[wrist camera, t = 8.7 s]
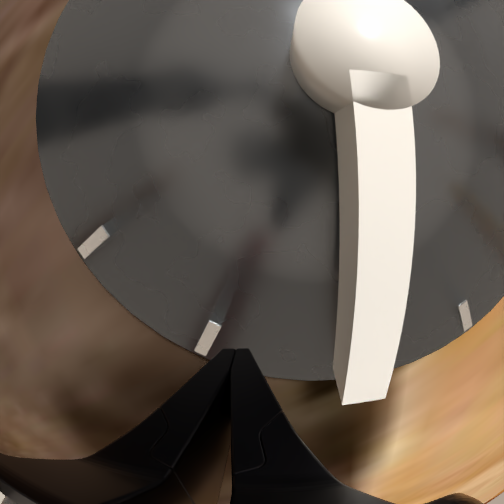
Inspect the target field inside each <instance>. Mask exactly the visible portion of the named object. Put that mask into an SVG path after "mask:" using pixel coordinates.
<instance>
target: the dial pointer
mask: <svg viewBox="0 0 504 504" xmlns="http://www.w3.org/2000/svg"><path fill="white" fill-rule="evenodd" d="M290 63H291V67H292V70H293V73H294V76H295V78H296V80H297V82H298V83H299V85H300V86H301V88H302V89H303V90H304V91H305V93H306V94H307V95H308V96H309V97H310V98H311V99H312V100H313V101H315V102H316V103H317V104H319V105H320V106H321V107H323V108H325V109H326V110H328V111H330V112H332V113H334V114H335V126H336V139H337V155H338V175H339V213H340V248H339V286H338V306H337V322H336V336H335V348H334V359H333V371H334V375H335V379H336V383H337V387H338V391H339V395H340V399H341V403H342V405H347V404H354V403H361V402H367V401H373V400H379V399H385V397H386V394H387V390H388V387H389V383H390V379H391V376H392V372H393V368H394V364H395V360H396V355H397V351H398V346H399V342H400V337H401V332H402V327H403V321H404V316H405V310H406V304H407V297H408V290H409V283H410V275H411V266H412V256H413V245H414V231H415V210H416V158H415V138H414V124H413V113H412V106H413V105H415V104H417V103H419V102H420V101H422V100H423V99H425V98H426V97H427V96H428V95H429V94H430V92H431V91H432V90H433V88H434V86H435V84H436V82H437V79H438V76H439V69H440V57H439V51H438V47H437V44H436V41H435V39H434V36H433V34H432V32H431V30H430V28H429V27H428V25H427V24H426V22H425V21H424V19H423V18H422V17H421V16H420V15H419V13H418V12H417V11H416V10H415V9H414V8H413V7H412V6H411V5H409V4H408V3H407V2H406V1H404V0H303V1H302V3H301V4H300V6H299V8H298V11H297V14H296V18H295V24H294V29H293V34H292V40H291V45H290Z"/></svg>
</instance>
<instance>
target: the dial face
mask: <svg viewBox="0 0 504 504" xmlns="http://www.w3.org/2000/svg"><path fill="white" fill-rule="evenodd" d="M302 1H303V0H69V1H68V3H67V5H66V7H65V8H64V10H63V12H62V14H61V16H60V17H59V19H58V22H57V24H56V26H55V29H54V31H53V34H52V36H51V39H50V41H49V44H48V47H47V50H46V53H45V57H44V61H43V65H42V70H41V74H40V79H39V85H38V95H37V109H36V126H37V140H38V151H39V157H40V161H41V166H42V170H43V175H44V179H45V183H46V187H47V190H48V193H49V195H50V198H51V201H52V203H53V206H54V208H55V211H56V213H57V216H58V218H59V221H60V223H61V225H62V227H63V228H64V230H65V232H66V234H67V235H68V237H69V239H70V241H71V242H72V244H73V246H74V248H75V249H76V251H77V253H78V254H79V256H80V257H81V259H82V260H83V261H84V262H85V264H86V265H87V266H88V268H89V269H90V270H91V272H92V273H93V274H94V275H95V277H96V278H97V279H98V280H99V282H100V283H101V284H102V285H103V286H104V287H105V288H106V289H107V290H108V291H109V292H110V293H111V294H112V295H113V296H114V297H115V298H116V299H117V300H118V301H119V302H120V303H121V304H122V305H123V306H124V307H125V308H126V309H127V310H128V311H130V312H131V313H132V314H133V315H134V316H136V317H137V318H138V319H140V320H141V321H142V322H144V323H145V324H147V325H148V326H149V327H151V328H152V329H153V330H155V331H156V332H158V333H159V334H161V335H162V336H163V337H165V338H167V339H169V340H171V341H172V342H174V343H176V344H178V345H180V346H182V347H183V348H185V349H187V350H189V351H191V352H193V353H195V354H197V355H199V356H201V357H204V358H207V359H209V360H211V359H212V358H213V357H214V356H215V355H216V354H217V353H219V352H220V351H221V350H222V349H225V348H234V349H235V350H236V349H238V348H248V349H250V351H251V353H252V355H253V357H254V359H255V360H256V362H257V364H258V366H259V368H260V370H261V372H262V374H263V375H264V376H268V377H273V378H283V379H294V380H307V381H316V380H336V379H335V375H334V371H333V359H334V348H335V336H336V322H337V306H338V286H339V248H340V213H339V175H338V155H337V139H336V126H335V114H334V113H332V112H330V111H328V110H326V109H325V108H323V107H321V106H320V105H319V104H317V103H316V102H315V101H313V100H312V99H311V98H310V97H309V96H308V95H307V94H306V93H305V91H304V90H303V89H302V88H301V86H300V85H299V83H298V82H297V80H296V78H295V76H294V73H293V70H292V67H291V63H290V45H291V40H292V34H293V29H294V24H295V18H296V14H297V11H298V8H299V6H300V4H301V3H302ZM404 1H406V2H407V3H408V4H409V5H411V6H412V7H413V8H414V9H415V10H416V11H417V12H418V13H419V15H420V16H421V17H422V18H423V19H424V21H425V22H426V24H427V25H428V27H429V28H430V30H431V32H432V34H433V36H434V39H435V41H436V44H437V47H438V51H439V57H440V69H439V76H438V79H437V82H436V84H435V86H434V88H433V90H432V91H431V92H430V94H429V95H428V96H427V97H426V98H425V99H423V100H422V101H420V102H419V103H417V104H415V105H413V106H412V113H413V124H414V138H415V158H416V210H415V231H414V245H413V256H412V266H411V275H410V283H409V290H408V297H407V304H406V310H405V316H404V321H403V327H402V332H401V337H400V342H399V346H398V351H397V355H396V360H395V364H394V368H397V367H400V366H403V365H406V364H409V363H411V362H414V361H416V360H418V359H420V358H422V357H424V356H427V355H429V354H431V353H433V352H435V351H437V350H439V349H441V348H442V347H444V346H445V345H447V344H449V343H450V342H452V341H453V340H455V339H456V338H458V337H459V336H461V335H462V334H464V333H465V332H466V331H468V330H469V329H470V328H471V327H473V326H474V325H475V324H476V323H477V322H478V321H480V320H481V319H482V318H483V317H484V316H485V315H486V314H487V313H488V312H490V311H491V310H492V309H493V307H494V306H495V305H496V304H497V303H498V302H499V301H500V300H501V298H502V297H503V296H504V0H404ZM394 368H393V369H394Z"/></svg>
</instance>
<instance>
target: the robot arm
mask: <svg viewBox="0 0 504 504" xmlns="http://www.w3.org/2000/svg"><path fill="white" fill-rule="evenodd" d="M230 442H231V464H232V495H231V501H230V504H394V503H391V502H388V501H385V500H382V499H380V498H377V497H374V496H371V495H369V494H366V493H363V492H361V491H358V490H356V489H353V488H351V487H348V486H346V485H345V484H343V483H341V482H340V481H339V480H337V479H336V478H335V477H334V476H333V475H332V474H331V473H330V472H329V471H328V470H327V469H326V468H325V466H324V465H323V464H322V463H321V462H320V461H319V460H318V459H317V457H316V456H315V455H314V454H313V453H312V452H311V451H310V449H309V448H308V447H307V446H306V445H305V443H304V442H303V441H302V440H301V438H300V437H299V436H298V434H297V433H296V432H295V430H294V429H293V427H292V425H291V424H290V422H289V421H288V419H287V417H286V415H285V414H284V412H283V410H282V408H281V407H280V405H279V403H278V401H277V399H276V398H275V396H274V394H273V392H272V390H271V388H270V387H269V385H268V383H267V381H266V379H265V377H264V375H263V374H262V372H261V370H260V368H259V366H258V364H257V362H256V360H255V359H254V357H253V355H252V353H251V351H250V349H248V348H238V349H236V350H235V349H234V348H225V349H222V350H221V351H220V352H219V353H217V354H216V355H215V356H214V357H213V358H212V359H211V360H210V361H209V362H208V363H207V364H206V365H205V366H204V367H203V368H202V369H201V370H200V371H198V372H197V373H196V374H195V375H194V376H193V377H192V378H191V379H190V380H189V381H188V382H187V383H186V384H184V385H183V386H182V387H181V388H180V389H179V390H178V391H177V392H176V393H175V394H173V395H172V396H171V397H170V398H169V399H168V400H167V401H166V402H165V403H163V404H162V405H161V406H160V408H158V409H157V410H155V411H154V412H153V413H152V414H151V415H150V416H148V417H147V418H146V419H145V420H144V421H142V422H141V423H140V424H139V425H137V426H136V427H134V428H133V429H132V430H130V431H129V432H127V433H126V434H124V435H123V436H121V437H120V438H118V439H117V440H115V441H114V442H112V443H111V444H109V445H108V446H106V447H104V448H103V449H101V450H100V451H98V452H96V453H95V454H93V455H91V456H88V457H85V458H82V459H75V460H50V459H30V458H18V457H12V456H7V455H4V454H1V453H0V491H1V492H2V493H3V494H4V495H5V498H4V500H3V502H2V503H1V504H217V502H218V498H219V493H220V489H221V484H222V479H223V475H224V470H225V466H226V461H227V456H228V452H229V447H230ZM425 504H483V503H482V502H480V501H479V500H477V499H475V498H473V497H470V496H468V495H465V494H462V493H454V494H451V495H447V496H445V497H442V498H439V499H437V500H434V501H431V502H429V503H425Z"/></svg>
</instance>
